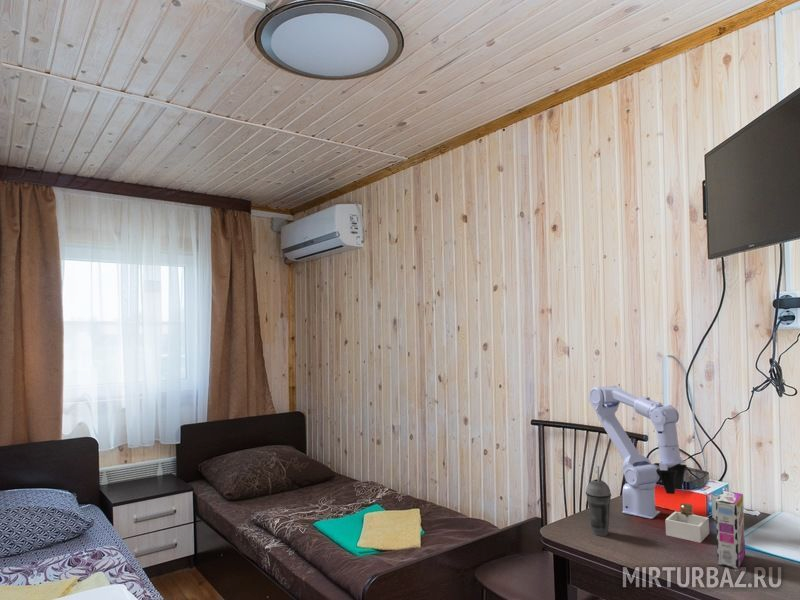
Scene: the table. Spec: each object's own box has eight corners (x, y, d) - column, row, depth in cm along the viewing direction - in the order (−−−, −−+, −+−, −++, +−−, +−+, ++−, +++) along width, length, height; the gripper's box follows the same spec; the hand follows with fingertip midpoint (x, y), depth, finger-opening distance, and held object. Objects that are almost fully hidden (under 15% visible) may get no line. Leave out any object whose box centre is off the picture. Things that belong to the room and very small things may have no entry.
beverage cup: (609, 528, 169) (606, 462, 170) (616, 537, 162) (613, 468, 163) (584, 528, 170) (582, 462, 171) (590, 537, 162) (587, 468, 163)
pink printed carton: (740, 570, 139) (736, 503, 140) (717, 565, 142) (714, 500, 143) (746, 555, 148) (743, 492, 148) (725, 551, 151) (722, 489, 152)
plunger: (670, 533, 163) (669, 505, 163) (678, 526, 168) (677, 499, 169) (697, 539, 158) (696, 510, 159) (704, 532, 163) (703, 504, 164)
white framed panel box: (666, 535, 163) (665, 519, 163) (677, 524, 171) (677, 509, 171) (700, 542, 157) (699, 526, 157) (711, 531, 165) (710, 515, 165)
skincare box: (742, 524, 170) (741, 500, 170) (722, 524, 170) (721, 500, 171) (730, 517, 176) (729, 494, 176) (711, 518, 176) (710, 494, 177)
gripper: (674, 449, 164) (681, 496, 162) (689, 443, 175) (695, 487, 173) (650, 448, 169) (656, 494, 167) (665, 442, 180) (671, 486, 178)
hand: (674, 491), depth 170 cm, fingers open, 7 cm apart
